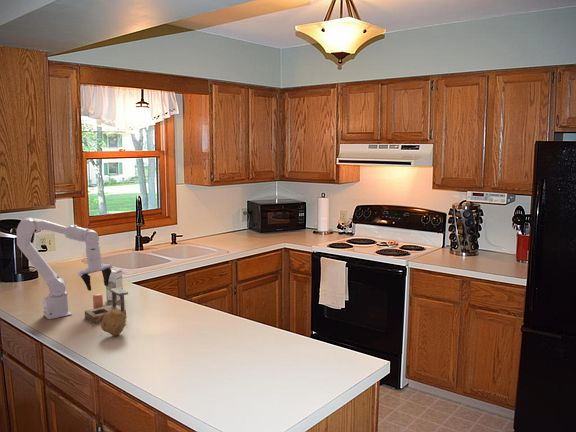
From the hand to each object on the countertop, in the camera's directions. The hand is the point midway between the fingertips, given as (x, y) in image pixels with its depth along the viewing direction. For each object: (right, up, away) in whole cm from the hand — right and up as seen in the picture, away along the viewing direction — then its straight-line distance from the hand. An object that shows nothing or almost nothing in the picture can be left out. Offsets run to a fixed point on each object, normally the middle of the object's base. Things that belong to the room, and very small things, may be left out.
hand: (98, 287), depth 229 cm
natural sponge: (+17, -14, -30) cm, 37 cm away
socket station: (+7, -11, -8) cm, 15 cm away
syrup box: (+2, -8, +17) cm, 19 cm away
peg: (0, -10, +1) cm, 10 cm away
